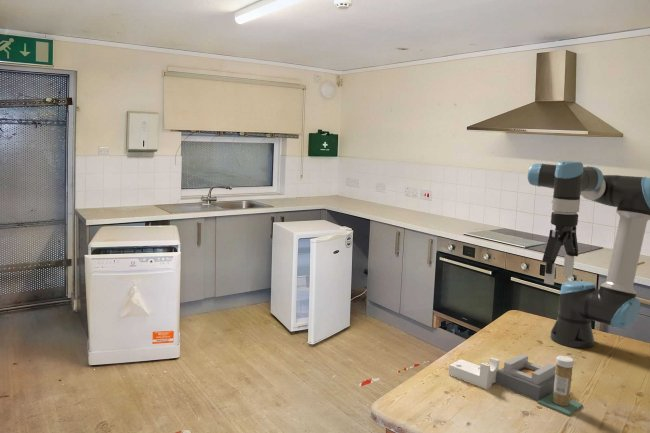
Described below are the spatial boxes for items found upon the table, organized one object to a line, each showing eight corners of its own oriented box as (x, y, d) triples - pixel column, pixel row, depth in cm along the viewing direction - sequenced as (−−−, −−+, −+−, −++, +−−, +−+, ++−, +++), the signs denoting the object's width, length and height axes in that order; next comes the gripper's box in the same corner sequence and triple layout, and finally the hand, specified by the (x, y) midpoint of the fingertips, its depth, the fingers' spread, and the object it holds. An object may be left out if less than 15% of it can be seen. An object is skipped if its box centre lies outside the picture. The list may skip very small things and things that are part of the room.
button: (524, 377, 171) (525, 368, 170) (539, 383, 167) (540, 373, 167) (517, 381, 167) (517, 372, 167) (531, 387, 164) (532, 377, 163)
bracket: (497, 383, 169) (499, 360, 168) (486, 390, 164) (488, 366, 163) (459, 369, 178) (461, 347, 177) (448, 375, 173) (450, 352, 171)
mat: (552, 394, 162) (552, 392, 162) (582, 406, 156) (583, 404, 156) (537, 403, 156) (537, 401, 156) (568, 416, 150) (569, 414, 150)
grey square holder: (518, 371, 177) (520, 351, 176) (560, 387, 167) (562, 366, 166) (495, 383, 168) (497, 361, 167) (538, 401, 158) (541, 378, 157)
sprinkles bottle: (572, 404, 155) (577, 359, 153) (563, 408, 153) (568, 362, 151) (557, 397, 159) (562, 353, 157) (548, 401, 157) (553, 356, 155)
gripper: (569, 207, 176) (563, 270, 180) (534, 214, 159) (528, 284, 163) (593, 210, 171) (586, 275, 175) (559, 218, 154) (553, 290, 158)
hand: (558, 279), depth 169 cm, fingers open, 13 cm apart
